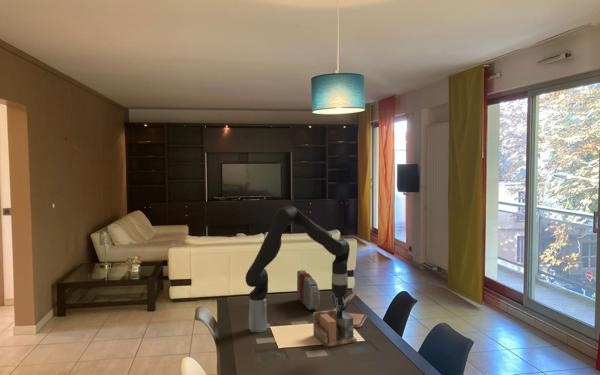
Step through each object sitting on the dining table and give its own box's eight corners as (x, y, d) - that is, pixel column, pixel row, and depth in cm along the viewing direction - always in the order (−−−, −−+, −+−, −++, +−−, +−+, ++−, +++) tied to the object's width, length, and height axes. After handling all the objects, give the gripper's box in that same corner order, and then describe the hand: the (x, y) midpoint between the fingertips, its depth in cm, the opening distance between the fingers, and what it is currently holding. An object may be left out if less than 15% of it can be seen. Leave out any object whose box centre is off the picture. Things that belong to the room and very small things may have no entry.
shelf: (325, 346, 219) (324, 322, 218) (313, 335, 234) (313, 312, 234) (356, 341, 225) (356, 318, 224) (343, 330, 240) (343, 308, 239)
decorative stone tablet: (296, 269, 294) (310, 285, 266) (305, 268, 296) (321, 284, 268) (295, 298, 297) (310, 316, 269) (305, 297, 299) (320, 315, 271)
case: (333, 313, 269) (332, 287, 268) (368, 316, 262) (367, 289, 261) (323, 325, 250) (322, 297, 249) (360, 329, 242) (360, 300, 241)
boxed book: (328, 342, 221) (328, 322, 220) (320, 333, 232) (319, 314, 231) (336, 341, 222) (336, 321, 221) (327, 332, 233) (327, 313, 233)
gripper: (353, 285, 206) (353, 322, 207) (341, 278, 219) (341, 313, 220) (338, 286, 204) (338, 324, 205) (326, 279, 216) (326, 314, 217)
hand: (339, 318), depth 212 cm, fingers closed
